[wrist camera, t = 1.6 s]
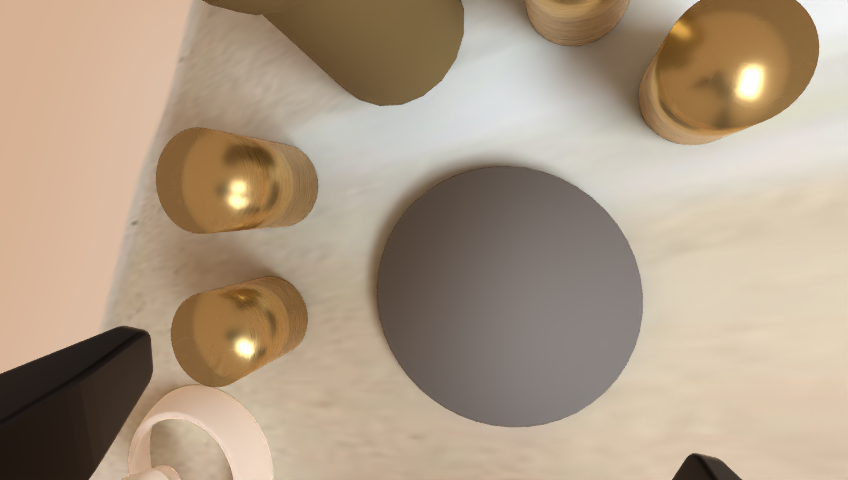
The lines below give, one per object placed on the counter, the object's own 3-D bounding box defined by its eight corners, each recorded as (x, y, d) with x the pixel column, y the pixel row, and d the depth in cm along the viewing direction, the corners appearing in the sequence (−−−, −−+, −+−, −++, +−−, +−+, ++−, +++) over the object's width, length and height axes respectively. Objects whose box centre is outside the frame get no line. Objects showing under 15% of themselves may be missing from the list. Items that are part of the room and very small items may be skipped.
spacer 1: (317, 228, 21) (243, 236, 16) (246, 224, 22) (156, 230, 17) (318, 144, 20) (243, 127, 16) (246, 144, 21) (155, 127, 17)
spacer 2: (306, 359, 21) (250, 393, 18) (238, 349, 22) (171, 379, 19) (308, 280, 21) (251, 297, 17) (238, 273, 22) (170, 288, 18)
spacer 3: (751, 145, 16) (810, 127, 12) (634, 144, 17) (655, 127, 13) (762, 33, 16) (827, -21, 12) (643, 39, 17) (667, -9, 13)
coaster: (629, 440, 18) (631, 449, 17) (378, 399, 21) (373, 405, 20) (651, 170, 17) (654, 169, 16) (386, 164, 20) (380, 163, 19)
